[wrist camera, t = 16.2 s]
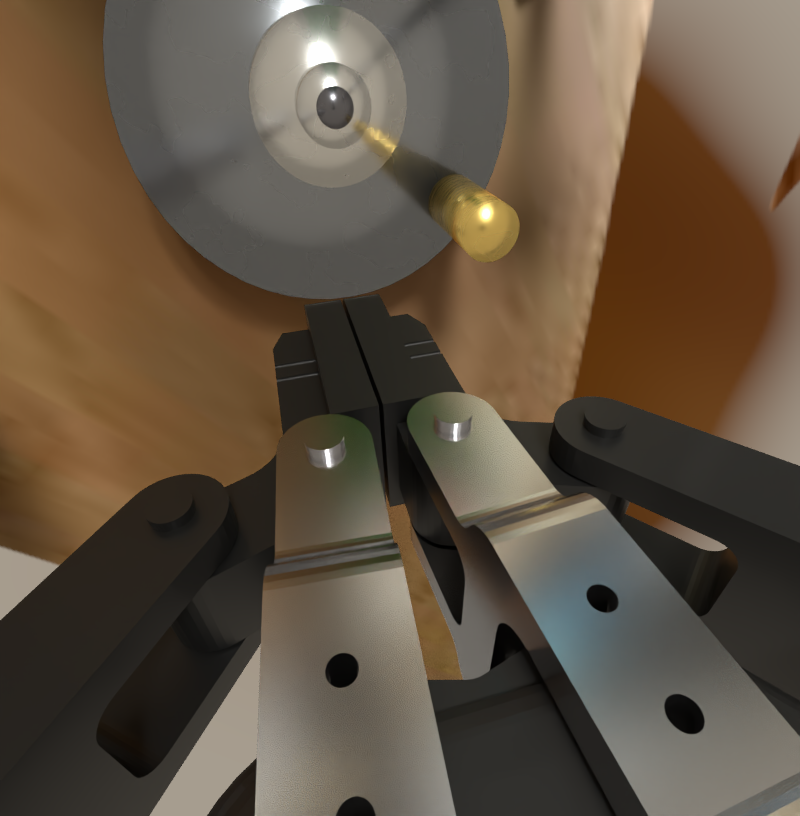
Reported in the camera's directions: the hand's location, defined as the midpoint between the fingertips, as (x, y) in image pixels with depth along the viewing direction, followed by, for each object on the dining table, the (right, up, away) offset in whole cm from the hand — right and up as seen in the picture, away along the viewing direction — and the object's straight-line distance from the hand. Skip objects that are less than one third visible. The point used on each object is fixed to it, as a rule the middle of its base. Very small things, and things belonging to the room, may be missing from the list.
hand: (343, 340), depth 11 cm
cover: (-3, +14, +15) cm, 21 cm away
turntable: (-3, +15, +17) cm, 23 cm away
